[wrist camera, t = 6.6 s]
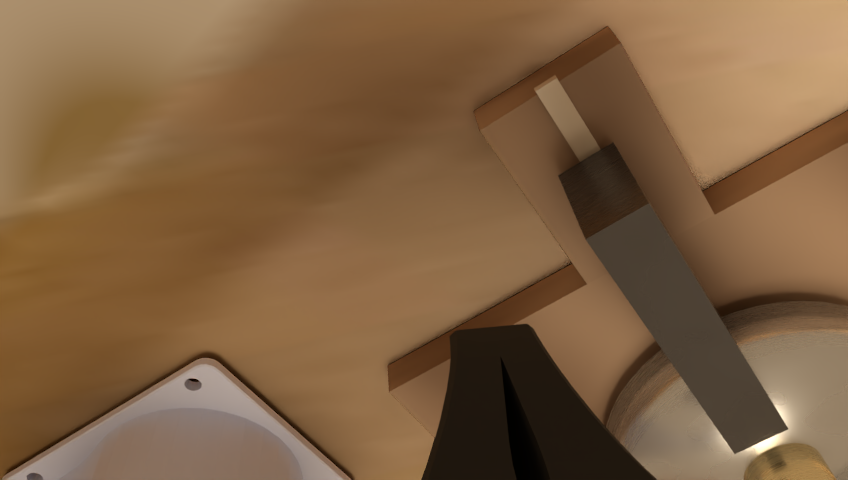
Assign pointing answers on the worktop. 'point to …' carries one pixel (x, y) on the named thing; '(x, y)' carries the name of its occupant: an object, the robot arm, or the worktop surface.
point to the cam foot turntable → (713, 354)
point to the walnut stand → (675, 205)
